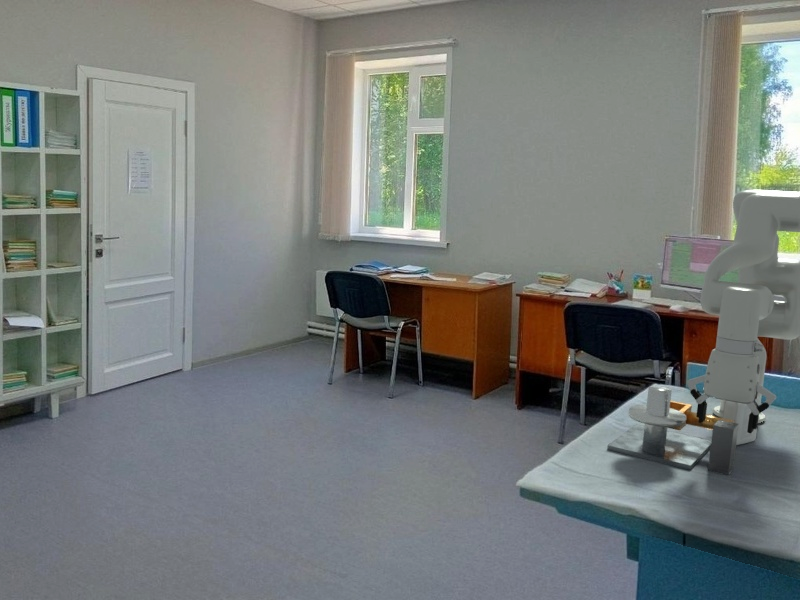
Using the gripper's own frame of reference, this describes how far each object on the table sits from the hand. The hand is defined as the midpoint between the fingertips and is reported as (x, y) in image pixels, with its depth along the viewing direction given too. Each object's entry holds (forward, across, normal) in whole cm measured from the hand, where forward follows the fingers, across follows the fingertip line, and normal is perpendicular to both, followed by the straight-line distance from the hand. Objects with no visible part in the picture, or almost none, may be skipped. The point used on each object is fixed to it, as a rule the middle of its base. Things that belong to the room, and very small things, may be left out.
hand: (725, 426), depth 158 cm
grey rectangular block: (+10, 0, -1) cm, 10 cm away
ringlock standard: (+9, +12, -5) cm, 16 cm away
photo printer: (+9, +1, -23) cm, 25 cm away
